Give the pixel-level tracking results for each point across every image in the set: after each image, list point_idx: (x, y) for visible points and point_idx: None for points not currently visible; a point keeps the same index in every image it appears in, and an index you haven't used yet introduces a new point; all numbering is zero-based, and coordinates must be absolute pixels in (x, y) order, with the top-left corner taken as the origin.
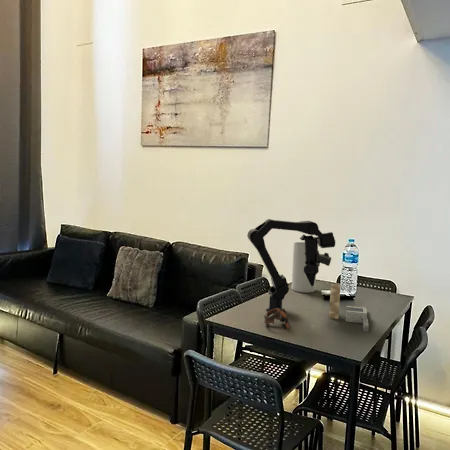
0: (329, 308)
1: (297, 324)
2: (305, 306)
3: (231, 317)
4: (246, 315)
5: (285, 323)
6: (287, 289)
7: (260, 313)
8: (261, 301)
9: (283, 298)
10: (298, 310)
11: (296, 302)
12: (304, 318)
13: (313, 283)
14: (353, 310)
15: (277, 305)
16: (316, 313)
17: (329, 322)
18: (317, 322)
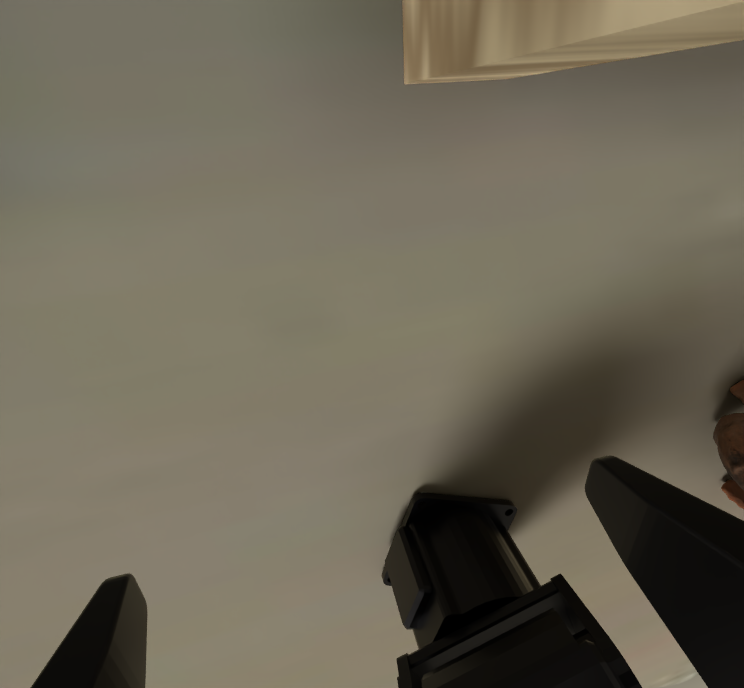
0: (567, 68)
1: (720, 324)
2: (199, 384)
3: (641, 643)
4: (595, 613)
5: (742, 397)
6: (599, 655)
7: (540, 578)
8: (263, 677)
9: (566, 581)
10: (371, 405)
11: (106, 489)
12: (577, 308)
13: (668, 492)
14: None
15: (515, 558)
16: (395, 235)
17: (645, 59)
18: (660, 182)
